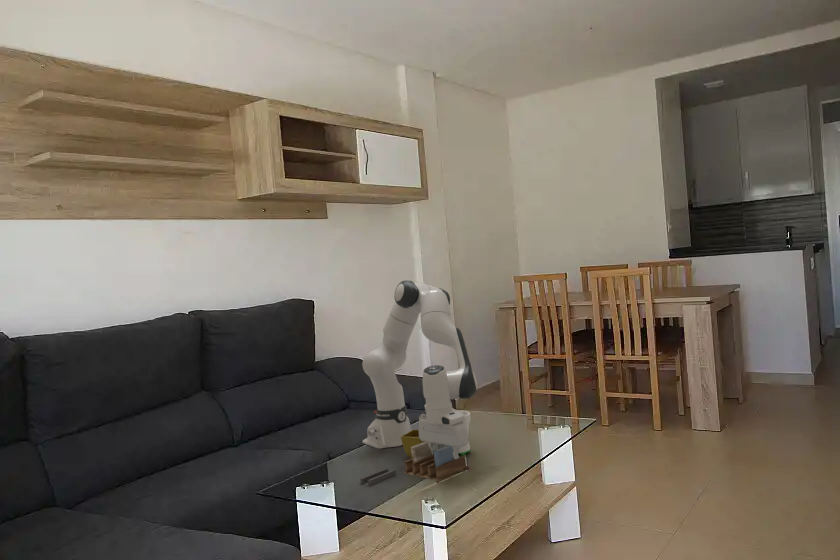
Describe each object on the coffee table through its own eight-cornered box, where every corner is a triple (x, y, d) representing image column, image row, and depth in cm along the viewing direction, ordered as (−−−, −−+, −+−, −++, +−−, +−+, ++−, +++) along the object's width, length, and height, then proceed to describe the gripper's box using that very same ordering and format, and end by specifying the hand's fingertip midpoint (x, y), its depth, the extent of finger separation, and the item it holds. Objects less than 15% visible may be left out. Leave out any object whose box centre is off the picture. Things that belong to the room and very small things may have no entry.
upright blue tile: (436, 475, 221) (433, 451, 221) (453, 467, 226) (450, 444, 226) (440, 476, 219) (437, 451, 219) (457, 468, 225) (454, 445, 225)
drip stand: (359, 485, 223) (358, 477, 223) (385, 475, 231) (383, 467, 231) (372, 489, 218) (371, 481, 218) (398, 478, 226) (397, 470, 225)
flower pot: (423, 461, 240) (420, 437, 240) (403, 460, 245) (399, 436, 245) (435, 454, 248) (432, 430, 248) (416, 453, 252) (412, 429, 252)
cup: (473, 456, 238) (468, 417, 238) (442, 459, 241) (437, 419, 240) (476, 447, 249) (471, 409, 249) (447, 449, 252) (442, 412, 251)
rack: (403, 475, 228) (399, 449, 228) (434, 461, 238) (431, 437, 238) (437, 482, 216) (434, 455, 216) (469, 468, 226) (466, 442, 226)
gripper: (411, 415, 228) (417, 455, 228) (454, 420, 213) (460, 463, 213) (425, 410, 232) (430, 450, 233) (468, 415, 217) (473, 457, 217)
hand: (445, 456), depth 223 cm, fingers open, 8 cm apart
